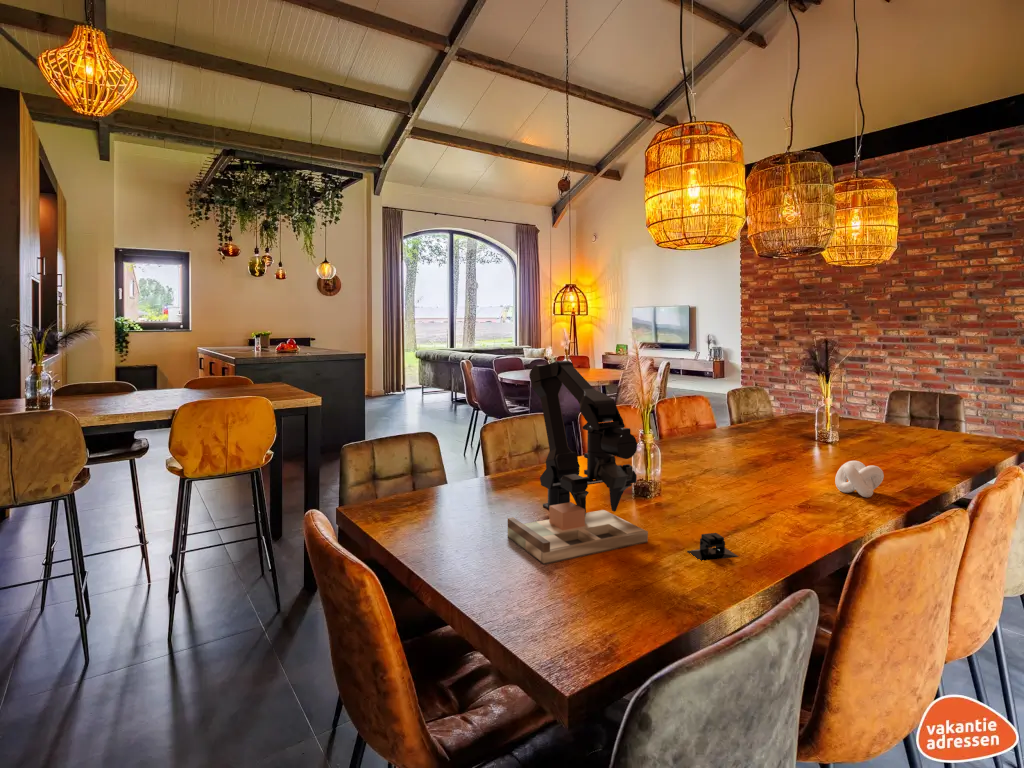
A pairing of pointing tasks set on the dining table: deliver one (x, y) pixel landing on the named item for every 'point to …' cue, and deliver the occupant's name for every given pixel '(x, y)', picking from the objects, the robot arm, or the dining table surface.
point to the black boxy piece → (709, 552)
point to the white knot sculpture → (858, 478)
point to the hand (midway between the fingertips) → (598, 513)
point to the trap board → (575, 537)
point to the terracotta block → (566, 516)
